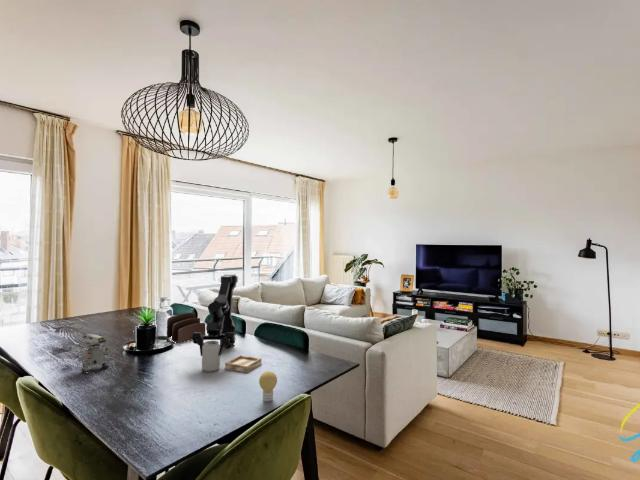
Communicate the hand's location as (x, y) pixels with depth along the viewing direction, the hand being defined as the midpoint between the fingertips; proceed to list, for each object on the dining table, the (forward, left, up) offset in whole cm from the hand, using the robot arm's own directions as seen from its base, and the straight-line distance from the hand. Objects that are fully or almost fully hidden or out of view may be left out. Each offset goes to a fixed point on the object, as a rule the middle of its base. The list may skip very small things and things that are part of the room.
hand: (210, 355), depth 150 cm
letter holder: (-46, +36, -7) cm, 59 cm away
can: (-1, +1, -7) cm, 7 cm away
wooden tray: (+10, +10, -7) cm, 16 cm away
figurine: (-48, -19, -7) cm, 52 cm away
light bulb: (+37, -15, -7) cm, 41 cm away
